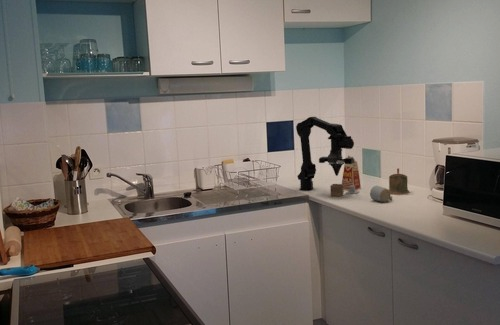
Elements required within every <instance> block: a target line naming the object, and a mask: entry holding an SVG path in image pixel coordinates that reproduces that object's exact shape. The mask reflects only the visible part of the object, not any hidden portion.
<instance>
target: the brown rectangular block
mask: <svg viewBox="0 0 500 325" xmlns="http://www.w3.org/2000/svg"><path fill="white" fill-rule="evenodd" d="M329 188H330V196H331V197H341V196H343V195H344V190H343V184H342V183H333V184H331V185H330V186H329Z"/></svg>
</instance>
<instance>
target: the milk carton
mask: <svg viewBox="0 0 500 325" xmlns="http://www.w3.org/2000/svg"><path fill="white" fill-rule="evenodd" d="M347 157H349V158H354V156H351V155H347ZM343 165H344V166H343V172H342V179H341V184H343V191H347V192H348V191H349V186H351V185H352V186H355V191H359V190H360V189H361V188H362V187H361V186H362V185H361V184H362V183H361V178H360V176H361V175H360V170H359V164H358V161H357V160H356V159H355V158H354V163H352V164H345V163H344V164H343Z"/></svg>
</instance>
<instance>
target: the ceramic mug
mask: <svg viewBox="0 0 500 325" xmlns="http://www.w3.org/2000/svg"><path fill="white" fill-rule="evenodd" d="M369 196H370V199H371V200H373V201H377V202H381V203H387V202H388V201H389V200H393V196H391V194H390V191H389V188H388V189H387V188H386V187H382V186H379V185H374V186H372V187H371V189H370V192H369Z"/></svg>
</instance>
